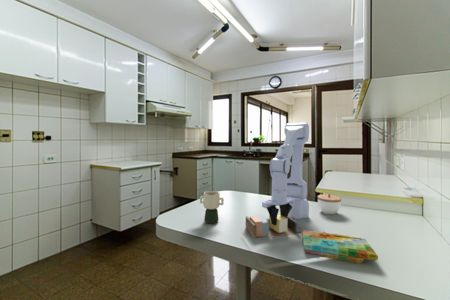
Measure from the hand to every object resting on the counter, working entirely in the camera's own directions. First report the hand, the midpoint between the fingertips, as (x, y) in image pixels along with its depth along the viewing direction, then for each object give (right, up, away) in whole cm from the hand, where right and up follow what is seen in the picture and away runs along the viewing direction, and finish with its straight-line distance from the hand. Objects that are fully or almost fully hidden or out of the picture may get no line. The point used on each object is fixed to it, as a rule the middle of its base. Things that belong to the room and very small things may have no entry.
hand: (278, 223), depth 85 cm
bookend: (+7, -3, +2) cm, 8 cm away
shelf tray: (-1, -4, 0) cm, 4 cm away
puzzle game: (+15, -5, -14) cm, 21 cm away
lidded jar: (+31, -3, +25) cm, 40 cm away
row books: (-8, -3, -2) cm, 9 cm away
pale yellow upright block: (0, -2, 0) cm, 2 cm away
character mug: (-27, -3, +11) cm, 29 cm away
